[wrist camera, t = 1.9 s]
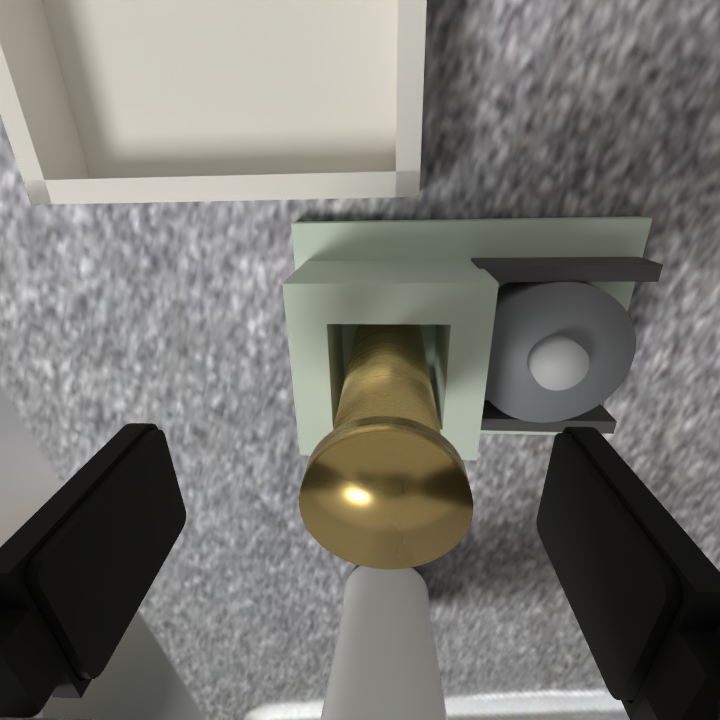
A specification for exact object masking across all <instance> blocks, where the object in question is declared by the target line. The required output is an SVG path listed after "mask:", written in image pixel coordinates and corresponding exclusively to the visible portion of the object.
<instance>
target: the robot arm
mask: <svg viewBox="0 0 720 720" xmlns="http://www.w3.org/2000/svg"><path fill="white" fill-rule="evenodd" d="M185 521H186V510H185V507H184V503H183V499H182V496H181V492H180V488H179V485H178V481H177V477H176V474H175V470H174V467H173V463H172V459H171V456H170V452H169V448H168V445H167V441H166V437H165V434H164V432H163V431H162V430H158V428H157V426H156V425H155V424H148V423H130V424H127V425H125V426H124V427H123V428H122V429H121V430H120V431H119V432H118V433H117V434H116V435H115V436H114V437H113V438H112V439H111V440H110V441H109V442H108V443H107V444H106V445H105V446H103V447H102V448H101V449H100V450H99V451H98V452H97V453H96V454H95V455H94V456H93V457H92V458H91V459H90V460H89V461H88V462H87V463H86V464H85V465H84V466H83V467H82V468H81V469H80V470H79V471H78V472H77V473H76V474H75V475H74V476H73V477H72V478H71V479H70V480H69V481H68V482H67V483H66V484H65V485H64V486H63V487H62V488H61V489H60V490H59V491H58V492H57V493H56V494H54V495H53V496H52V498H50V499H49V500H48V501H47V502H46V503H45V504H44V505H43V506H42V507H41V508H40V509H39V510H38V511H37V512H36V513H35V514H34V515H33V516H32V517H31V518H30V519H29V520H28V521H27V522H26V523H25V524H24V525H23V526H22V527H21V528H20V529H19V530H18V531H17V532H16V533H15V534H14V535H13V536H12V537H11V538H10V539H8V540H7V542H5V544H3V545H2V546H1V547H0V720H89V719H65V718H62V719H61V718H42V708H43V707H44V705H45V704H46V702H47V701H48V699H49V697H50V696H51V694H52V695H53V697H61V698H81V697H82V696H83V694H84V692H85V690H86V688H87V687H88V685H89V683H90V682H91V680H92V679H95V678H96V677H98V676H99V675H100V674H101V673H102V671H103V670H104V668H105V667H106V665H107V663H108V661H109V660H110V658H111V656H112V654H113V652H114V650H115V649H116V647H117V645H118V643H119V641H120V640H121V638H122V636H123V634H124V633H125V631H126V629H127V627H128V626H129V624H130V622H131V620H132V618H133V617H134V614H135V613H136V611H137V609H138V608H139V606H140V604H141V602H142V600H143V599H144V597H145V595H146V593H147V592H148V590H149V588H150V586H151V584H152V583H153V581H154V579H155V577H156V575H157V574H158V572H159V570H160V568H161V566H162V565H163V563H164V561H165V559H166V558H167V556H168V554H169V552H170V550H171V549H172V547H173V545H174V543H175V541H176V540H177V538H178V536H179V534H180V532H181V531H182V529H183V527H184V524H185ZM537 529H538V533H539V536H540V538H541V540H542V542H543V545H544V547H545V549H546V551H547V554H548V556H549V558H550V560H551V563H552V565H553V567H554V569H555V572H556V574H557V576H558V578H559V581H560V583H561V585H562V587H563V590H564V592H565V594H566V596H567V599H568V601H569V603H570V605H571V608H572V610H573V612H574V614H575V617H576V619H577V621H578V623H579V626H580V628H581V630H582V632H583V635H584V637H585V639H586V641H587V644H588V646H589V648H590V650H591V652H592V655H593V657H594V659H595V661H596V664H597V666H598V668H599V670H600V673H601V675H602V677H603V679H604V682H605V684H606V686H607V688H608V690H609V692H610V694H611V695H612V696H613V697H614V698H615V699H616V700H621V701H622V703H623V705H624V708H625V710H626V712H627V714H628V716H629V718H630V720H720V572H719V571H718V570H717V568H716V567H715V566H714V565H713V564H712V563H711V561H710V560H709V559H708V558H707V557H706V556H705V554H704V553H703V552H702V551H701V550H700V549H699V548H698V546H697V545H696V544H695V543H694V542H693V541H692V539H691V538H690V537H689V536H688V535H687V534H686V532H685V531H684V530H683V529H682V528H681V527H680V525H679V524H678V523H677V522H676V521H675V520H674V518H673V517H672V516H671V515H670V514H669V513H668V511H667V510H666V509H665V508H664V507H663V506H662V504H661V503H660V502H659V501H658V500H657V499H656V497H655V496H654V495H653V494H652V493H651V492H650V491H649V489H648V488H647V487H646V486H645V485H644V484H643V482H642V481H641V480H640V479H639V478H638V477H637V475H636V474H635V473H634V472H633V471H632V470H631V468H630V467H629V466H628V465H627V464H626V463H625V461H624V460H623V459H622V458H621V457H620V456H619V454H618V453H617V452H616V451H615V450H614V449H613V447H612V446H611V445H610V444H609V443H608V442H607V440H606V439H605V438H604V437H603V436H602V435H601V434H600V432H599V431H598V430H597V429H596V428H594V427H566V428H565V429H564V430H563V432H562V433H557V434H556V436H555V439H554V444H553V448H552V453H551V457H550V462H549V466H548V470H547V475H546V479H545V484H544V488H543V493H542V497H541V502H540V506H539V511H538V515H537ZM90 720H91V719H90Z"/></svg>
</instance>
